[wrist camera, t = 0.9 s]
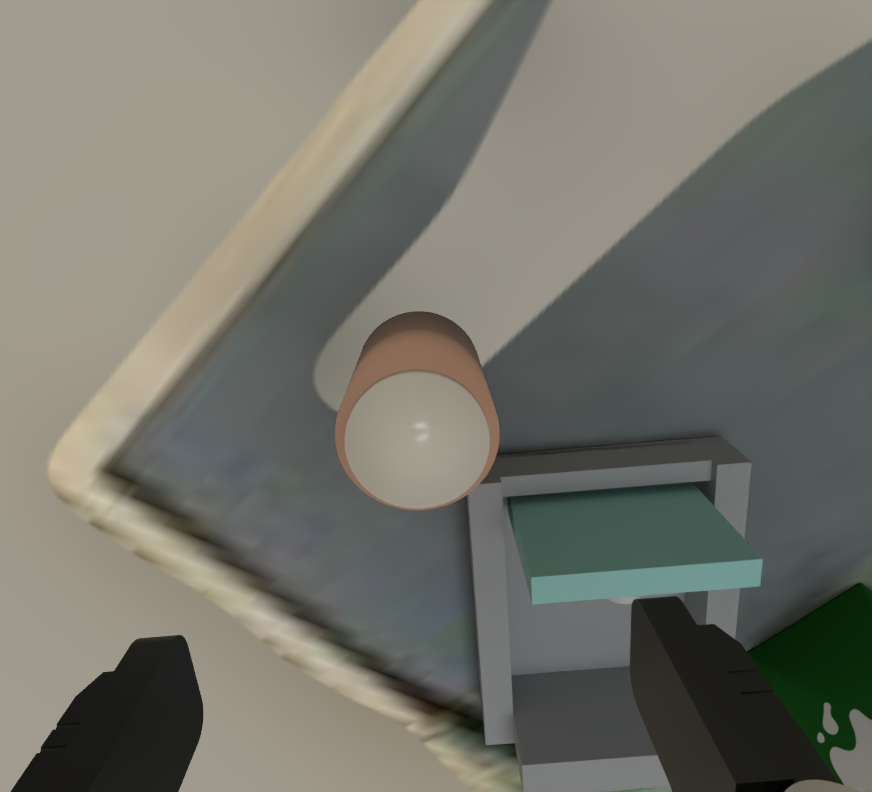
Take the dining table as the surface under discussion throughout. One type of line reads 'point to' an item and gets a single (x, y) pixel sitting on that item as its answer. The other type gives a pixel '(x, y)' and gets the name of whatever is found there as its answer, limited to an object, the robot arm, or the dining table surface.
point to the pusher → (628, 544)
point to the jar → (417, 415)
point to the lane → (580, 617)
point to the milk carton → (829, 682)
